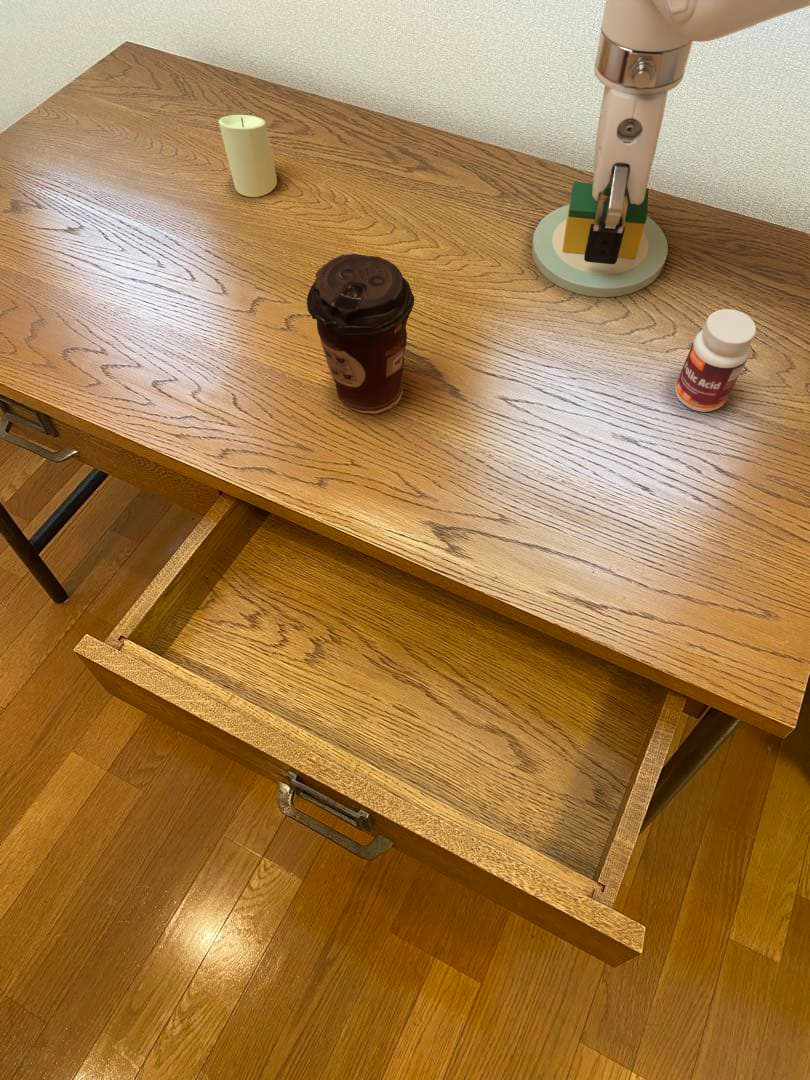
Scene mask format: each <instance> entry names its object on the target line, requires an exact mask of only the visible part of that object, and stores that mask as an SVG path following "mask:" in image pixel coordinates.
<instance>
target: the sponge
mask: <svg viewBox="0 0 810 1080" xmlns="http://www.w3.org/2000/svg"><path fill="white" fill-rule="evenodd" d="M592 189H593V182H592V183H591V182H579V181H573V182H572V186H571V192H570V199H569V204H568V205H569V209H568V215H567V221H566V227H565V235H564V242H563V250H562V252H566V253H576V254H585V250H586V246H587V241H588V236H589V231H590V226H591V224H594V221H595V215H596V209H597V203H598V201H596V200H595V199H594V198H593V196H592ZM610 189H611V188H605V190H604V194H608V195H610ZM625 190H626V188H625ZM624 196H625V195H624ZM648 205H649V188H648V187H647V188H646V193H645V197H644V201H643V202H642V203H641V204H639V205H636V204H631V203H630V199H629V202H628V207H627V212H626V218H625V223H624V227H625V231H624V235H623V239H622V243H621V246H620V250H619V254H618V258H627V259H635V258H636V255H637V251H638V248H639V244H640V241H641V237H642V233H643V230H644V226H645V223H646V219H647V216H648V209H649V208H648V207H649V206H648ZM607 208H608V203H605V202H604V204H603V210H602V216H603V214H606V212H607ZM602 216H601V217H602Z"/></svg>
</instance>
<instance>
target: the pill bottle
mask: <svg viewBox="0 0 810 1080" xmlns="http://www.w3.org/2000/svg"><path fill="white" fill-rule="evenodd" d="M756 333H757V326H756V323H755V322H754V320H753V319H752V317H750V316H749V315H748V314H746V313H744V312H743V311H740V310H736V309H731V308H722V309H718V310H716V311H713V312H712V313H711V314H710V315H709V316H708V317H707V319H706V321H705V324H704V325H703V327H702V329H701V330H700V331H699V332H698V333H697V334H696V335H695V337H694V339H693V340H692V344H691V346H690V349H689V351H688V353H687V356H686V358H685V361H684V363H683V366H682V368H681V370H680V373H679V375H678V378H677V380H676V383H675V384H674V392H675V396H676V398H677V399H678V401H680V403H681V404H683V405H684V406H685V407H687V408H689V409H690V410H693V411H696V412H702V413H706V412H707V413H708V412H712V411H716V410H718V409H720V408H721V407H723V406H724V404H726V402H727V400H728V398H729V396H730V394H732V390H733V388H734V386H735V385H736V382H737V381H738V379H739V378H740V375H741V374H742V371H743V369H744V367H745V365H746V363H747V362H748V360H749V358H750V355H751V349H752V348H751V344H752V342H753V340H754V338H755V336H756Z"/></svg>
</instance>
